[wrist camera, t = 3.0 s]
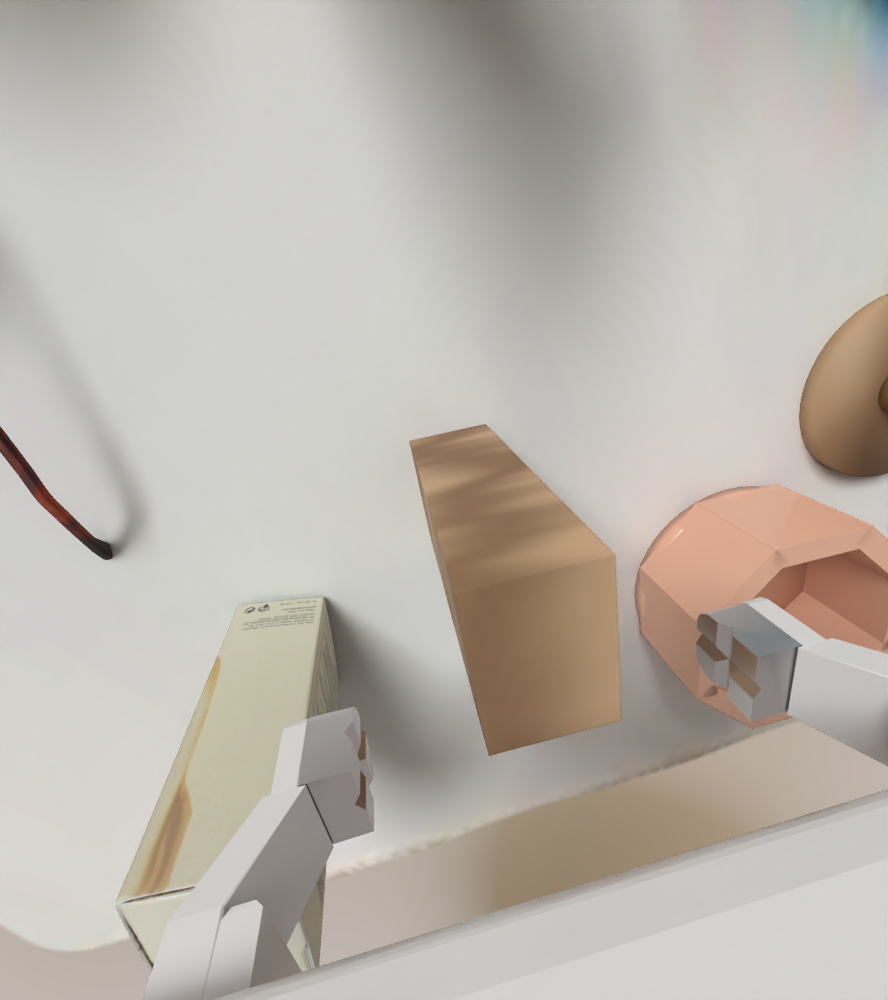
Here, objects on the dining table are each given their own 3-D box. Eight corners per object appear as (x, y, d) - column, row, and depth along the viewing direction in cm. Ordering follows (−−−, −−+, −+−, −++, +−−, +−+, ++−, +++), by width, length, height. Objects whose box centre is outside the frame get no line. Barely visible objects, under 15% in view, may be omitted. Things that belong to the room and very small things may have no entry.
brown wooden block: (485, 424, 21) (615, 555, 10) (499, 521, 23) (621, 720, 12) (409, 440, 20) (455, 593, 10) (430, 537, 22) (488, 756, 12)
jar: (823, 466, 24) (941, 507, 19) (796, 624, 29) (887, 691, 24) (633, 511, 24) (704, 566, 19) (635, 666, 28) (694, 745, 23)
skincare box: (235, 602, 22) (100, 897, 11) (327, 592, 23) (285, 865, 12) (259, 701, 25) (169, 1025, 14) (341, 691, 25) (319, 992, 14)
